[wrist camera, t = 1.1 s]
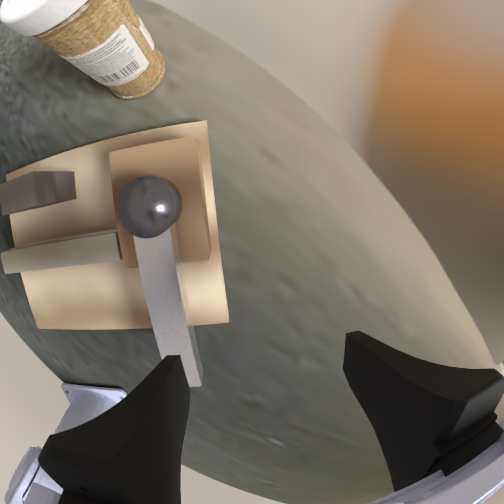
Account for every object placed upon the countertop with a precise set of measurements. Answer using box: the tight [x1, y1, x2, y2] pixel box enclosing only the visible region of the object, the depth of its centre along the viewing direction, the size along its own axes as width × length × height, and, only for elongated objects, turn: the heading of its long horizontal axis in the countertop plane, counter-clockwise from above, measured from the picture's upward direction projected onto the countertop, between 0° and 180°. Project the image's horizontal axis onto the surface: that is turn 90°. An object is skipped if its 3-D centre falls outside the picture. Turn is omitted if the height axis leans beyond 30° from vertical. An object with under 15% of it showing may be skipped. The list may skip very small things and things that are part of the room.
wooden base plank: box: [0, 121, 229, 330], centre depth 15 cm, size 14×18×6 cm
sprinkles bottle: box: [0, 0, 165, 100], centre depth 9 cm, size 5×5×14 cm
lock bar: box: [118, 176, 203, 387], centre depth 15 cm, size 12×3×2 cm, turn 5°
